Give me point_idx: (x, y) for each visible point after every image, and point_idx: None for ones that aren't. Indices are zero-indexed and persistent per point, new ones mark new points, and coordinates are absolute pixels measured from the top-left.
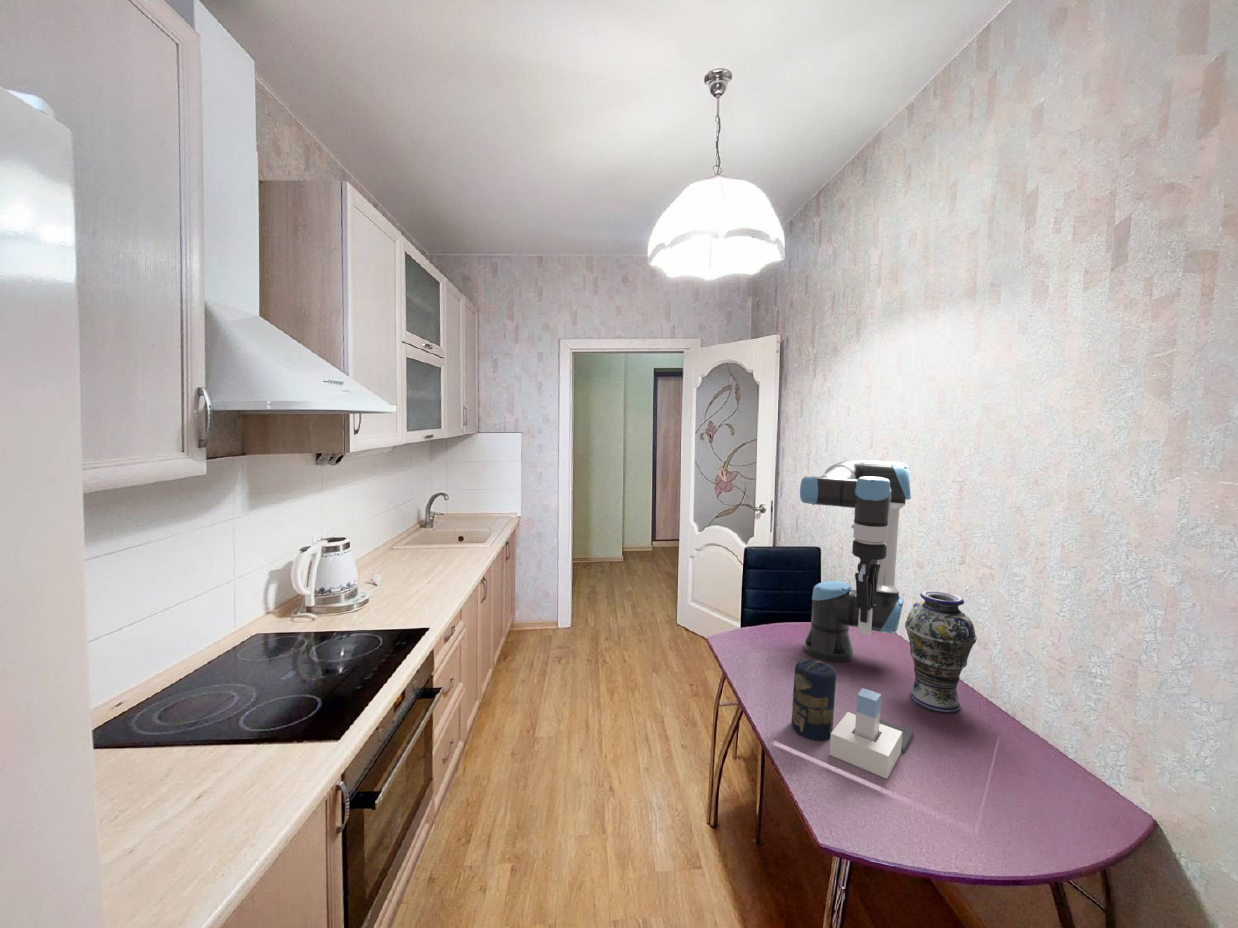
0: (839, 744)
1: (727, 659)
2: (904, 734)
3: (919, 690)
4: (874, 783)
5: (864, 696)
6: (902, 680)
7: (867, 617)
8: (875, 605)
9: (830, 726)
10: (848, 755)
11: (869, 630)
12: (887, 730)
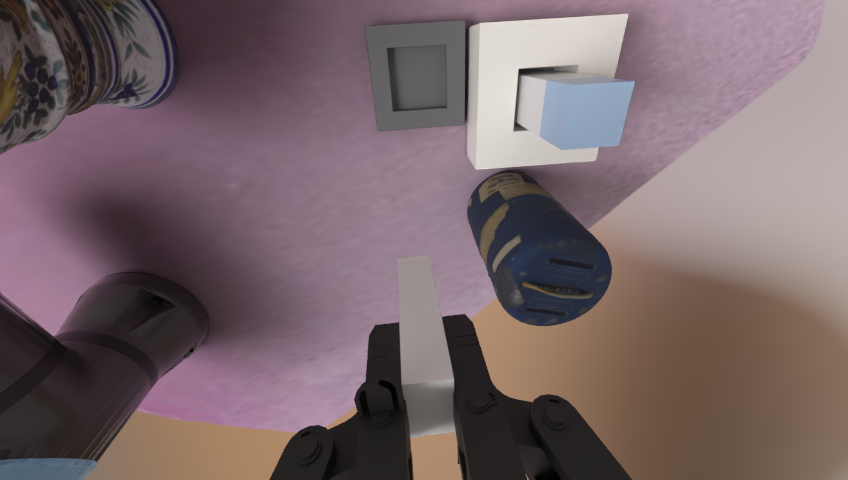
0: None
1: None
2: (399, 41)
3: (141, 75)
4: None
5: (619, 123)
6: (88, 148)
7: (447, 339)
8: (374, 400)
9: (522, 178)
10: None
11: (431, 272)
12: (500, 60)
